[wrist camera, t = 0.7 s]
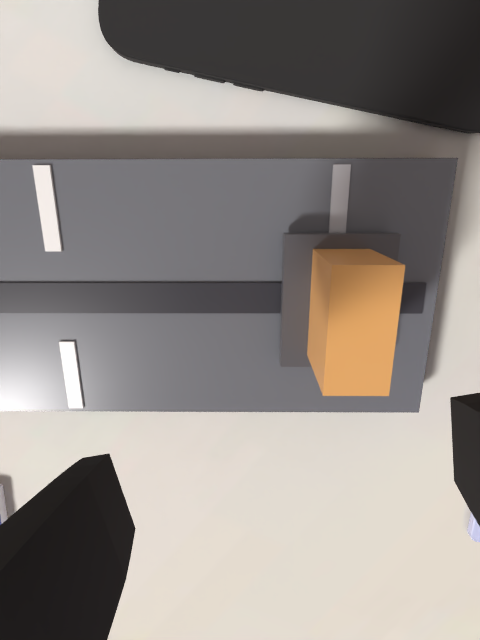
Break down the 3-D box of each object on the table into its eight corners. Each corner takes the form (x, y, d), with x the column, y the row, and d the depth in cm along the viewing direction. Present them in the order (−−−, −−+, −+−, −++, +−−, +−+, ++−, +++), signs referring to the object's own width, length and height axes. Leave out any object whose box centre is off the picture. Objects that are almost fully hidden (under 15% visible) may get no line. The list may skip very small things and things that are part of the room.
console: (437, 161, 15) (459, 157, 14) (405, 395, 18) (419, 413, 17) (-82, 162, 16) (-118, 159, 14) (-29, 393, 19) (-53, 412, 17)
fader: (394, 232, 14) (444, 246, 11) (379, 360, 16) (419, 410, 12) (283, 232, 14) (296, 247, 11) (279, 360, 16) (289, 410, 12)
